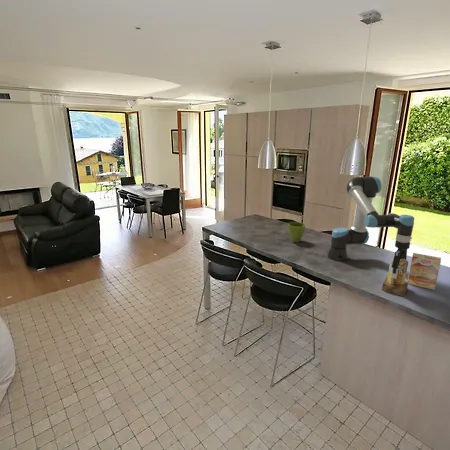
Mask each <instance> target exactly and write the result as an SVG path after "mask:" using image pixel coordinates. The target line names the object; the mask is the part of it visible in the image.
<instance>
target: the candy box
mask: <svg viewBox="0 0 450 450" xmlns="http://www.w3.org/2000/svg"><path fill="white" fill-rule="evenodd" d="M393 259H394V258H390V262H389V267H388V273H387V277H388V278H387V277H386V278H387V282H388V283H389V284H404V282H405V281H406V276H407V271H408V267H409V266H408V265H409V261H408V259H407V258H406V259H400V262H399V265H398V272H397V278H396V279H395V278H392V277H391V275H392V269H393V268H392V267H391V266H392V263H393Z"/></svg>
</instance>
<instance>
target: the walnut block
mask: <svg viewBox="0 0 450 450" xmlns="http://www.w3.org/2000/svg"><path fill="white" fill-rule="evenodd" d="M387 278H388V276H386V278H385V280H384V281H383V283H382V285H381V291H383V292H387V293H390V294H394V295H397V296H401V297H404V296H405V294H406V292H407V291H408V286H409V284H408V281H406V280H405V282H404V284H389V283H388V282H387Z"/></svg>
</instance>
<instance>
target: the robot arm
mask: <svg viewBox="0 0 450 450" xmlns="http://www.w3.org/2000/svg"><path fill="white" fill-rule="evenodd" d="M382 188H383V187H382V182H381V179H380V178H379V177H377V176H355V177H353V178H351V179H350V180H348V182H347V184H346V192H347V194H348V196H349V197H351V198H353V201H354V202H355V204H356V205H357V208H356V212H355V217H354V221H353V225H351V226H350V229H349V228H347V227H336V228H334V229H332V232H331V239H330V248H329V250H328V252H327V258H328V259H329V260H333V261H338V262H344V261H348V260H349V255H348V251H347V250H348V249H347V248H348V247H347V246H355V245H356V246H361V245H365V244H367V243H368V241H369V238H370V233H369V231H368V228H372V229H373V228H395V229H396V230H397V231H396V235H395V236H396V237H395V243H394V247H395V248H397V249H396V250H395V252H394V255H393V256H394V257H393V258H392V259H393V263H392V266H391V267H392V268H393V269H392V275H391V277H392V278H395V279H396V278H397V272H398V265H399V262H400V259H406V260H407V256H408V250H409V249H410V247H411V240H412V239H413V237H412V234H413V231H414V230H413V229H414V225H415V217H414V216H413V215H411V214H401V215H398V214H396V213H392V212H390V213H388V214H379V213H378V212H377V210H376V208H375V207H374V206H373V204H372V202H373V199H374V198H376V197H377V194H380V192H381V191H382Z"/></svg>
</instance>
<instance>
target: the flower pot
mask: <svg viewBox="0 0 450 450" xmlns="http://www.w3.org/2000/svg"><path fill="white" fill-rule="evenodd" d="M287 224H288V225H287V226H288V232H289V238H290V240H291V242H292V241H293V242H292V243H300V242H301V240H302V238H303V235H304V233H305V228H306V223H303V222H298V221H291V222H288V223H287ZM299 241H300V242H299Z"/></svg>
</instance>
